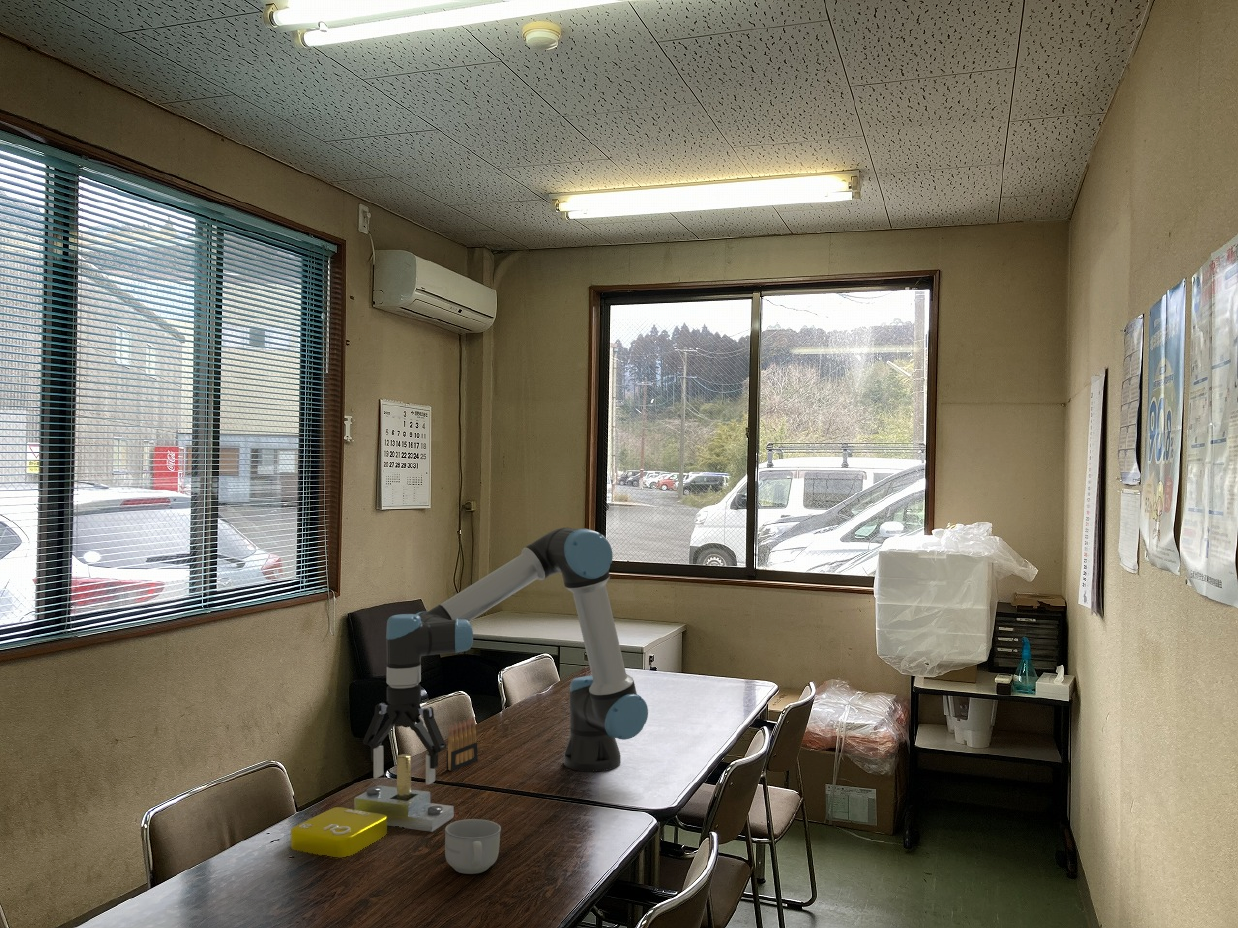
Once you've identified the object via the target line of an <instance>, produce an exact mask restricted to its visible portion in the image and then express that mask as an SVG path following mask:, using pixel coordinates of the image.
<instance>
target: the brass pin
mask: <svg viewBox="0 0 1238 928" xmlns="http://www.w3.org/2000/svg"><path fill="white" fill-rule="evenodd" d="M411 757H412V756H411V754H407V753H404V754H403V753H402V754H398V755H397V756H396V758H397V759H396V788H397V800H403V801H408V800H410V799H411V790H412V766H411V765H412V762H411V761H412V760H411Z"/></svg>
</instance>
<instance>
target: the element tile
mask: <svg viewBox="0 0 1238 928" xmlns="http://www.w3.org/2000/svg"><path fill="white" fill-rule="evenodd" d="M386 834H387V835H388V825H387V816H386V815H383V814H378V813H371V812H365V811H359V810H354V809H353V808H346V807H338V806H336V807H335V806H334V807H332V808H331V809H328V810H326V811H324V812H322V813H320V814H318V815H316V816H313V817H311V818H309V819H307V820H305V821H303V822H301V823H298V824H297V825H295V826H293V827H292V828H291V829H290V849H291V850H293V851H296V850H297V852H302V851H303V853H307V852H308V854H312V853H313V854H312V855H317V854H318V856H322V855H327V856H333V857H346V856H350V855H352V856H354V855H356V854H357V853H359V852H361V851H363V850H364V849H366V848H368V847H369V845H370V844H371V845H373V844H374V842H375V843H377V842H378V841H380V840H382V839H383V838H385V837H386V836H387V835H386ZM385 835H386V836H385ZM384 836H385V837H384ZM382 837H383V838H382ZM381 838H382V839H381ZM379 839H380V840H379ZM377 840H378V841H377ZM376 841H377V842H376ZM372 843H373V844H372ZM371 845H370V846H371ZM367 846H368V847H367ZM365 847H366V848H365ZM363 848H364V849H363ZM362 849H363V850H362ZM360 850H361V851H360ZM358 851H359V852H358ZM355 853H356V854H355ZM353 854H354V855H353ZM327 856H326V857H327ZM350 857H351V856H350Z"/></svg>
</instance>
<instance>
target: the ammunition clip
mask: <svg viewBox="0 0 1238 928" xmlns="http://www.w3.org/2000/svg"><path fill="white" fill-rule="evenodd" d="M478 753H479V751H478V741H477V731H476V722H475V717H474V716H472V717H471V719H470V718H467V721H466V720H465V719H463V721H459V722H458V723H457V722H454V723H453V724H450V725H449V729H448V739H447V750H446V766H445V767H446V771H447V770H449V771H448V772H454V771H453V770H455V771H457V770H459V769H458V768H460V767H462V768H464V767H466V766H469V765H471V764H473V763H476V762H478V761H479V758H478V757H479V756H478ZM456 769H457V770H456ZM460 769H461V768H460Z"/></svg>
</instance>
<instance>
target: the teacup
mask: <svg viewBox="0 0 1238 928" xmlns="http://www.w3.org/2000/svg"><path fill="white" fill-rule="evenodd" d="M501 831H502V827H501V825H500V824H499V823H497V822H496V821H495V822H494V821H492V820H489V819H481V818H468V819H467V818H464V819H459V820H456V821H452V822H451V823H449V824H447V825H446V826H445V827H444V833H445V837H444V857H445V860H446V862H447V863H448V865H449V866H451V868H452V869H454V870H455V871H456V872H458V873H460V874H465V875H474V874H475V875H477V874H481V873H483V872H485V871H487V870H489V868H490V867H492V866H493V865H494V864H495V863H496V862H497V859H498V857H499V851H500V842H501V841H500V840H501Z"/></svg>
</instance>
